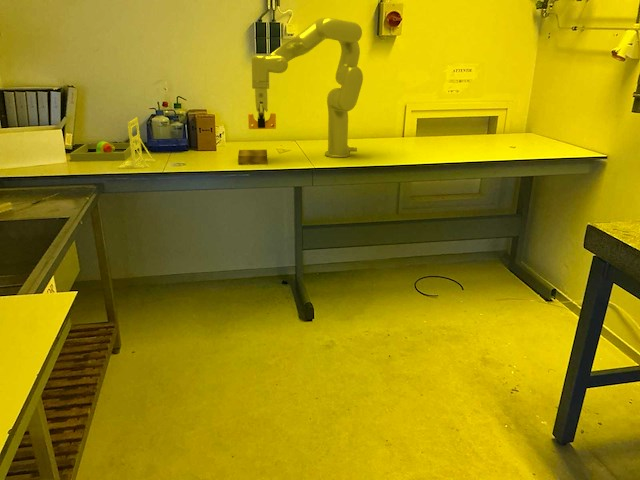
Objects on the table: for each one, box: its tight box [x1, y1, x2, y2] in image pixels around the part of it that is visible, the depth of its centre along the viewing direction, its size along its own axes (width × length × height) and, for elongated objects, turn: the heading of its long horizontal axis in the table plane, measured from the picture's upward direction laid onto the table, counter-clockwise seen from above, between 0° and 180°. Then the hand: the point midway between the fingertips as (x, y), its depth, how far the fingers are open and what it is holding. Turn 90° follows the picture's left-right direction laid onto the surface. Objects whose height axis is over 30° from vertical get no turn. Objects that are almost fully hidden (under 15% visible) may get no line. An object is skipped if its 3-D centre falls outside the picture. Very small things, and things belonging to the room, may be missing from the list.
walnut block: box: [237, 149, 268, 166], centre depth 239 cm, size 13×13×4 cm
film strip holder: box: [117, 117, 156, 169], centre depth 228 cm, size 14×14×20 cm
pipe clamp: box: [247, 112, 277, 130], centre depth 233 cm, size 12×4×6 cm, turn 103°
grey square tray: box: [69, 142, 132, 162], centre depth 248 cm, size 24×24×4 cm
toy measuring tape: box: [95, 140, 116, 153], centre depth 245 cm, size 6×20×7 cm, turn 152°
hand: (261, 126), depth 234 cm, fingers closed on pipe clamp, 4 cm apart
